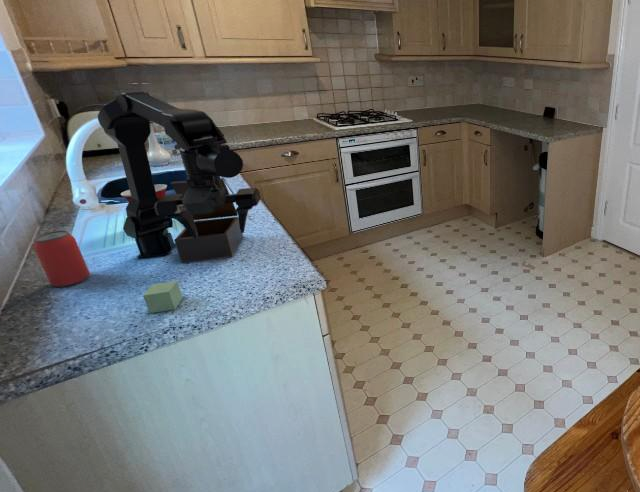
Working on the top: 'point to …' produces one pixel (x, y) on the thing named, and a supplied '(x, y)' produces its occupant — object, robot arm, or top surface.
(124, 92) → the robot arm
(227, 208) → the box lid
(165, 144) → the light bulb box
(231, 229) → the storage box
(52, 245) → the beer can
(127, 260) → the top surface
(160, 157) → the flower vase
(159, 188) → the plastic cup
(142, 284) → the top surface
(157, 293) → the block
